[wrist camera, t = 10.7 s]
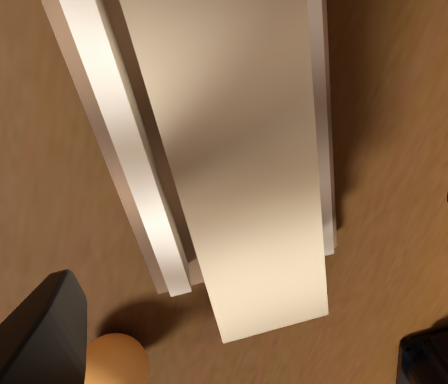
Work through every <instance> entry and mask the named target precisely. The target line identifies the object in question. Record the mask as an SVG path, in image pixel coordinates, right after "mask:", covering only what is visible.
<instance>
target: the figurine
mask: <svg viewBox="0 0 448 384" xmlns="http://www.w3.org/2000/svg"><path fill="white" fill-rule="evenodd" d="M148 374H149V362H148V357H147V354H146V352H145V350H144V348H143V347H142V345H141V344H140V343H139V342H138V341H137V340H136V339H134V338H133V337H131V336H129V335H126V334H122V333H111V334H106V335H103V336H101V337H99V338H97V339H95V340H94V341H92V342H91V343H90V344H89V345H88V346H87V353H86V373H85V382H84V384H146V382H147V379H148Z"/></svg>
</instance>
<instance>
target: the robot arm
mask: <svg viewBox="0 0 448 384" xmlns="http://www.w3.org/2000/svg"><path fill="white" fill-rule="evenodd" d="M447 202H448V194H447ZM86 353H87V299H86V296H85V293H84V292H83V290H82V288H81V286H80V284H79V282H78V281H77V279H76V277H75V275H74V273H73V272H72V271H71V270H68V269H66V270H62V271H58V272H54V273H51V274H50V275H48V276H47V277H46V278H45V279H44V280H43V282H42V283H41V284H40V285H39V286H38V287H37V288H36V289H35V290H34V291H33V292H32V293H31V294H30V295H29V296H28V297H27V298H26V299H25V300H24V301H23V302H22V303H21V304H20V305H19V306H18V307H17V308H16V309H15V310H14V311H13V312H12V313H11V314H10V315H9V316H8V317H7V318H6V319H5V320H4V321H3V322H2V323H1V324H0V384H84V382H85V373H86ZM396 384H448V328H446V329H443V330H439V331H436V332H432V333H428V334H425V335H421V336H418V337H414V338H411V339H407V340H404V341H403V342H401V343H400V345H399V355H398V366H397V378H396Z"/></svg>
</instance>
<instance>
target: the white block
mask: <svg viewBox="0 0 448 384" xmlns="http://www.w3.org/2000/svg"><path fill="white" fill-rule="evenodd" d="M120 4H121V7H122V10H123V13H124V17H125V20H126V23H127V27H128V30H129V33H130V37H131V40H132V43H133V47H134V50H135V53H136V57H137V60H138V63H139V66H140V70H141V73H142V76H143V80H144V83H145V86H146V90H147V93H148V96H149V100H150V103H151V106H152V109H153V113H154V116H155V119H156V123H157V126H158V129H159V133H160V136H161V139H162V143H163V146H164V149H165V152H166V156H167V159H168V162H169V166H170V169H171V172H172V176H173V179H174V182H175V186H176V189H177V192H178V195H179V199H180V202H181V205H182V209H183V212H184V215H185V219H186V222H187V225H188V229H189V232H190V235H191V238H192V242H193V245H194V248H195V252H196V255H197V258H198V262H199V265H200V268H201V272H202V275H203V278H204V281H205V285H206V288H207V291H208V295H209V298H210V301H211V305H212V308H213V311H214V315H215V318H216V321H217V324H218V328H219V331H220V334H221V338H222V341H223V343H227V342H231V341H234V340H238V339H242V338H245V337H249V336H252V335H256V334H260V333H263V332H267V331H270V330H274V329H278V328H281V327H285V326H289V325H292V324H296V323H299V322H303V321H307V320H310V319H314V318H318V317H321V316H325V315H328V301H327V286H326V272H325V257H324V242H323V228H322V213H321V198H320V183H319V169H318V154H317V139H316V124H315V110H314V95H313V80H312V65H311V51H310V36H309V21H308V7H307V0H120Z"/></svg>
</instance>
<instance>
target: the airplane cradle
mask: <svg viewBox="0 0 448 384" xmlns="http://www.w3.org/2000/svg"><path fill="white" fill-rule="evenodd" d="M41 1H42V4H43V6H44V9H45V11H46V14H47V16H48V19H49V21H50V24H51V26H52V29H53V31H54V34H55V36H56V39H57V41H58V44H59V47H60V49H61V52H62V54H63V57H64V59H65V62H66V64H67V67H68V69H69V72H70V74H71V77H72V79H73V82H74V84H75V87H76V89H77V92H78V94H79V97H80V99H81V102H82V104H83V107H84V109H85V112H86V114H87V117H88V119H89V122H90V124H91V127H92V129H93V132H94V134H95V137H96V139H97V142H98V144H99V147H100V149H101V152H102V154H103V157H104V159H105V162H106V164H107V167H108V169H109V172H110V174H111V177H112V179H113V182H114V184H115V187H116V189H117V192H118V194H119V197H120V199H121V202H122V204H123V207H124V209H125V212H126V214H127V217H128V219H129V222H130V224H131V227H132V229H133V232H134V234H135V237H136V239H137V242H138V244H139V247H140V249H141V252H142V254H143V257H144V259H145V262H146V264H147V267H148V269H149V272H150V274H151V277H152V279H153V282H154V284H155V287H156V289H157V292H158V294H161V293H165V292H168V291H169V293H170V296H171V297H173V296H177V295H180V294H184V293H188V292H191V291H192V290H191V285H195V284H198V283H202V282H205V281H204V278H203V275H202V272H201V268H200V265H199V262H198V258H197V255H196V252H195V248H194V245H193V242H192V238H191V235H190V232H189V229H188V225H187V222H186V219H185V215H184V212H183V209H182V205H181V202H180V199H179V195H178V192H177V189H176V186H175V182H174V179H173V176H172V172H171V169H170V166H169V162H168V159H167V156H166V152H165V149H164V146H163V143H162V139H161V136H160V133H159V129H158V126H157V123H156V119H155V116H154V113H153V109H152V106H151V103H150V100H149V96H148V93H147V90H146V86H145V83H144V80H143V76H142V73H141V70H140V66H139V63H138V60H137V57H136V53H135V50H134V47H133V43H132V40H131V37H130V33H129V30H128V27H127V23H126V20H125V17H124V13H123V10H122V7H121V4H120V0H41ZM307 7H308V21H309V36H310V51H311V65H312V80H313V95H314V110H315V124H316V139H317V154H318V169H319V183H320V198H321V213H322V228H323V242H324V256H326V255H330V254H334V247H337V234H336V211H335V188H334V164H333V141H332V117H331V94H330V71H329V47H328V24H327V0H307Z"/></svg>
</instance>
